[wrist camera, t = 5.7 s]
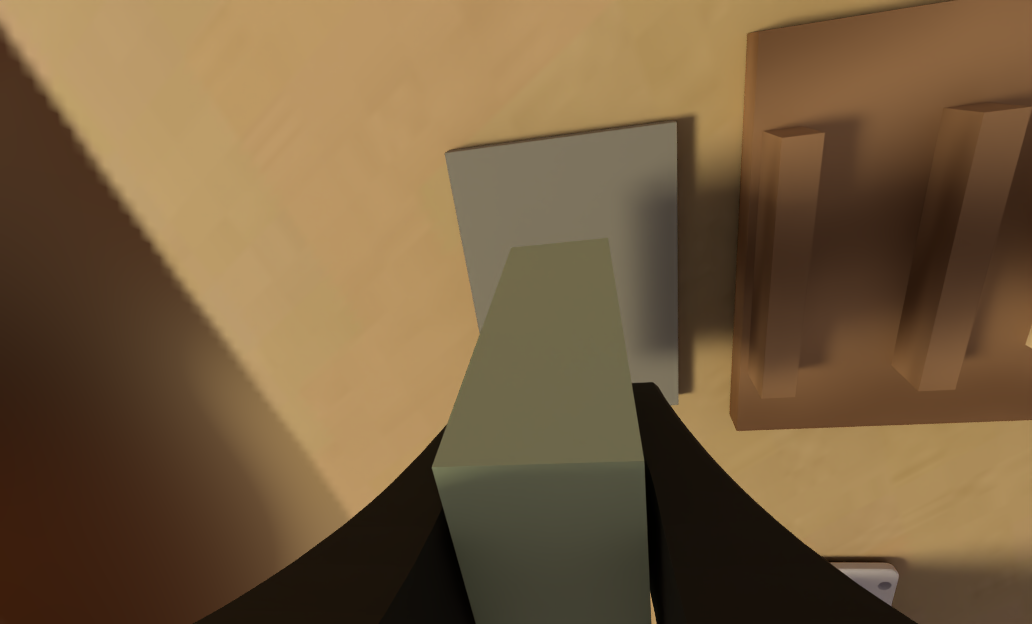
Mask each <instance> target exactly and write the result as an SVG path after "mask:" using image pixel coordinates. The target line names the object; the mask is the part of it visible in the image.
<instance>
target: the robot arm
mask: <svg viewBox="0 0 1032 624" xmlns="http://www.w3.org/2000/svg"><path fill="white" fill-rule="evenodd" d="M632 389H633V395H634V401H635V407H636V413H637V419H638V425H639V432H640V438H641V444H642V450H643V456H644V466H645V489H646V513H647V536H648V559H649V582H650V593H651V597H652V602H653V607H654V611H655V617H656V622H657V624H917V623H916V622H914V621H913V620H911V619H910V618H908V617H907V616H905V615H904V614H902V613H901V612H899V611H898V610H896V609H895V608H893V607H892V606H891V605H892V602H893V598H894V594H895V590H896V587H897V583H898V579H899V574H898V572H897V570H896V569H895V567H894V566H893V565H891V564H889V563H868V562H828V561H827V560H825V559H824V558H823V557H821V556H820V555H819V554H817V553H816V552H815V551H813V550H812V549H811V548H809V547H808V546H807V545H805V544H804V543H803V542H802V541H800V540H799V539H798V538H797V537H796V536H794V535H793V534H792V533H791V532H790V531H788V530H787V529H786V528H785V527H784V526H782V525H781V524H780V523H779V522H778V521H776V520H775V519H774V518H773V517H772V516H771V515H770V514H769V513H768V512H766V511H765V510H764V509H763V508H762V507H761V506H760V505H759V504H757V503H756V502H755V501H754V500H753V499H752V498H751V497H750V496H749V495H748V494H747V493H746V492H745V491H744V490H743V489H742V488H741V487H740V486H739V485H738V484H737V483H736V482H735V481H734V480H733V479H732V478H731V477H730V476H729V475H728V474H727V473H726V472H725V471H724V470H723V469H722V468H721V467H720V466H719V465H718V464H717V462H716V461H715V460H714V459H713V458H712V457H711V456H710V455H709V454H708V452H707V451H706V450H705V449H704V448H703V447H702V445H701V444H700V443H699V442H698V441H697V439H696V438H695V437H694V436H693V435H692V433H691V432H690V431H689V430H688V429H687V427H686V426H685V425H684V423H683V422H682V421H681V420H680V418H679V417H678V415H677V414H676V413H675V411H674V410H673V409H672V407H671V406H670V404H669V403H668V401H667V400H666V398H665V397H664V395H663V394H662V392H661V390H660V389H659V387H658V386H657V385H656V384H655V383H653V382H643V383H632ZM446 426H447V425H446ZM446 426H445V427H444V428H443V429H442V431H441V432H440V433H439V434H438V435H437V436H436V437H435V438H434V439H433V441H432V442H431V443H430V444H429V445H428V446H427V447H426V448H425V450H424V451H423V452H422V453H421V454H420V455H419V456H418V457H417V458H416V459H415V460H414V461H413V462H412V463H411V464H410V465H409V466H408V467H407V468H406V469H405V470H404V471H403V472H402V473H401V474H400V475H399V476H398V477H397V478H396V479H395V480H394V481H393V482H392V483H391V484H390V485H389V486H388V487H387V488H386V489H385V490H384V491H383V492H382V493H381V494H380V495H378V496H377V497H376V498H375V499H374V500H373V501H372V502H371V503H369V504H368V505H367V506H366V507H365V508H363V509H362V510H361V511H360V512H359V513H358V514H356V515H355V516H354V517H353V518H352V519H350V520H349V521H348V522H347V523H345V524H344V525H343V526H342V527H340V528H339V529H338V530H336V531H335V532H334V533H333V534H331V535H330V536H329V537H327V538H326V539H324V540H323V541H322V542H320V543H319V544H317V545H316V546H315V547H313V548H312V549H311V550H309V551H308V552H307V553H305V554H304V555H303V556H301V557H300V558H299V559H297V560H296V561H295V562H293V563H292V564H290V565H288V566H287V567H286V568H284V569H282V570H281V571H279V572H278V573H276V574H275V575H273V576H272V577H270V578H269V579H267V580H266V581H264V582H263V583H261V584H259V585H258V586H256V587H255V588H253V589H251V590H250V591H248V592H247V593H245V594H244V595H242V596H240V597H239V598H237V599H235V600H234V601H232V602H230V603H229V604H227V605H225V606H224V607H222V608H220V609H219V610H217V611H215V612H213V613H212V614H210V615H208V616H206V617H204V618H203V619H201V620H199V621H197V622H195V623H193V624H476V623H475V619H474V616H473V612H472V609H471V605H470V602H469V598H468V594H467V591H466V587H465V584H464V580H463V577H462V573H461V570H460V566H459V562H458V559H457V555H456V552H455V548H454V545H453V541H452V538H451V534H450V531H449V527H448V523H447V520H446V516H445V513H444V509H443V506H442V502H441V499H440V495H439V491H438V488H437V484H436V481H435V477H434V474H433V470H432V465H433V462H434V460H435V457H436V454H437V451H438V449H439V446H440V443H441V440H442V437H443V435H444V432H445V429H446Z"/></svg>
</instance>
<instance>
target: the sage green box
mask: <svg viewBox="0 0 1032 624" xmlns="http://www.w3.org/2000/svg"><path fill="white" fill-rule="evenodd" d="M432 470H433V474H434V477H435V481H436V484H437V488H438V491H439V495H440V499H441V502H442V506H443V509H444V513H445V516H446V520H447V523H448V527H449V531H450V534H451V538H452V541H453V545H454V548H455V552H456V555H457V559H458V562H459V566H460V570H461V573H462V577H463V580H464V584H465V587H466V591H467V594H468V598H469V602H470V605H471V609H472V612H473V616H474V619H475V623H476V624H651V606H650V582H649V559H648V536H647V513H646V489H645V466H644V456H643V450H642V444H641V438H640V432H639V425H638V419H637V413H636V407H635V401H634V395H633V389H632V383H631V376H630V370H629V364H628V358H627V352H626V346H625V340H624V333H623V327H622V321H621V315H620V309H619V303H618V297H617V290H616V284H615V278H614V272H613V266H612V260H611V254H610V248H609V241H608V238H601V239H591V240H581V241H571V242H561V243H552V244H542V245H532V246H522V247H512V248H511V249H510V252H509V255H508V258H507V260H506V263H505V266H504V269H503V272H502V274H501V277H500V280H499V283H498V285H497V288H496V291H495V294H494V296H493V299H492V302H491V305H490V307H489V310H488V313H487V316H486V319H485V321H484V324H483V327H482V330H481V332H480V335H479V338H478V341H477V343H476V346H475V349H474V352H473V354H472V357H471V360H470V363H469V366H468V368H467V371H466V374H465V377H464V379H463V382H462V385H461V388H460V390H459V393H458V396H457V399H456V402H455V404H454V407H453V410H452V413H451V415H450V418H449V421H448V424H447V426H446V429H445V432H444V435H443V437H442V440H441V443H440V446H439V449H438V451H437V454H436V457H435V460H434V462H433V465H432Z"/></svg>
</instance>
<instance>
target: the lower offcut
mask: <svg viewBox="0 0 1032 624" xmlns="http://www.w3.org/2000/svg"><path fill="white" fill-rule="evenodd" d="M1025 345H1027V346H1028V347H1030V348H1032V326H1031V329H1030V332H1029V335H1028V338H1027V341H1026V344H1025Z"/></svg>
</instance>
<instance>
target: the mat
mask: <svg viewBox="0 0 1032 624" xmlns="http://www.w3.org/2000/svg"><path fill="white" fill-rule="evenodd" d="M445 158H446V163H447V168H448V173H449V178H450V183H451V189H452V194H453V199H454V204H455V209H456V214H457V219H458V225H459V230H460V235H461V240H462V245H463V250H464V255H465V261H466V266H467V271H468V276H469V281H470V286H471V291H472V296H473V302H474V307H475V312H476V317H477V322H478V327H479V332H481V330H482V327H483V324H484V321H485V319H486V316H487V313H488V310H489V307H490V305H491V302H492V299H493V296H494V294H495V291H496V288H497V285H498V283H499V280H500V277H501V274H502V272H503V269H504V266H505V263H506V260H507V258H508V255H509V252H510V249H511V248H512V247H522V246H532V245H542V244H552V243H561V242H571V241H581V240H591V239H601V238H608V241H609V248H610V254H611V260H612V266H613V272H614V278H615V284H616V290H617V297H618V303H619V309H620V315H621V321H622V327H623V333H624V340H625V346H626V352H627V358H628V364H629V370H630V376H631V383H643V382H653V383H655V384H656V385H657V386H658V387H659V389H660V390H661V392H662V394H663V395H664V397H665V398H666V400H667V401H668V403H669V404H670V405H678V241H677V122H676V121H674V120H670V121H662V122H655V123H647V124H640V125H633V126H625V127H618V128H610V129H603V130H596V131H588V132H581V133H573V134H566V135H559V136H551V137H544V138H536V139H529V140H522V141H514V142H507V143H499V144H492V145H485V146H477V147H470V148H462V149H455V150H449V151H447V152H446V153H445Z"/></svg>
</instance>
